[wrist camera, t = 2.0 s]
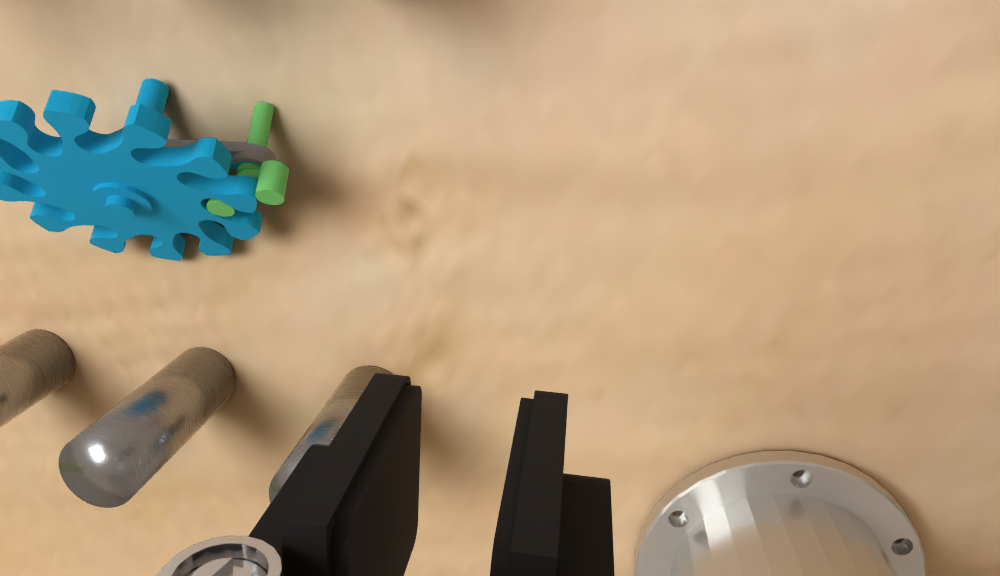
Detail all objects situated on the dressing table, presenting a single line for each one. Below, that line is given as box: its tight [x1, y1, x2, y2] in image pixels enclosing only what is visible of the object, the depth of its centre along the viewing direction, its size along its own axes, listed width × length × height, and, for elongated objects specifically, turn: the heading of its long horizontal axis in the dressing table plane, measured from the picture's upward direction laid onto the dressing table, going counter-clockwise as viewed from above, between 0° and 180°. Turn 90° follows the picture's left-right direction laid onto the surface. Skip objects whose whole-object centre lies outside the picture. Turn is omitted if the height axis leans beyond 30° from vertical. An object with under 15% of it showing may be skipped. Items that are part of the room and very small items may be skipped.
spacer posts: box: [0, 330, 392, 508], centre depth 27 cm, size 22×19×8 cm
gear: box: [0, 79, 289, 261], centre depth 29 cm, size 11×6×10 cm
